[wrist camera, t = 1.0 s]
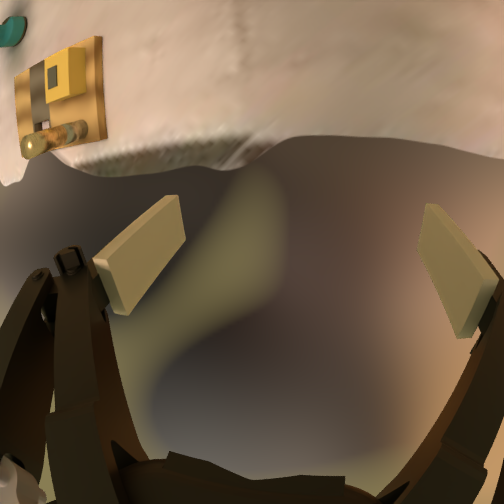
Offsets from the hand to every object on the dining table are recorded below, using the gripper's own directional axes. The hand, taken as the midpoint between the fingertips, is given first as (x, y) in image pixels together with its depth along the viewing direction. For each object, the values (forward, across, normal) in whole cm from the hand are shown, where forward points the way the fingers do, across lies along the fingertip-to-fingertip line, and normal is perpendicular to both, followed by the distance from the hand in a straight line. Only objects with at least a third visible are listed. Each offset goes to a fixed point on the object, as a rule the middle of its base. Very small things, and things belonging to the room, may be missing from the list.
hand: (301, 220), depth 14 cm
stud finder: (+23, -36, +16) cm, 45 cm away
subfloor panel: (+25, -43, +13) cm, 51 cm away
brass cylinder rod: (+23, -35, +6) cm, 42 cm away
